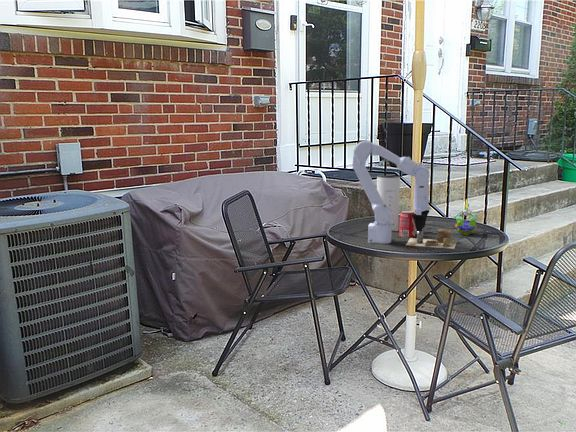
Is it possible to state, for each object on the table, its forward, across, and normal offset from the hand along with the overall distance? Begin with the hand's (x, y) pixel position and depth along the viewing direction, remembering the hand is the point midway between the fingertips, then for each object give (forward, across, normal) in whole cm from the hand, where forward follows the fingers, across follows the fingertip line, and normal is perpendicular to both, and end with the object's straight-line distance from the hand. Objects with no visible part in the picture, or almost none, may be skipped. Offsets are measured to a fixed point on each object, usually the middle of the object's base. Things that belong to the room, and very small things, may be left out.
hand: (420, 229), depth 212 cm
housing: (+6, +6, -9) cm, 12 cm away
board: (+7, +1, -4) cm, 8 cm away
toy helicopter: (+7, +25, -16) cm, 31 cm away
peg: (+6, 0, 0) cm, 6 cm away
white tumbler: (+7, +24, +18) cm, 31 cm away
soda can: (+7, +12, +7) cm, 16 cm away
